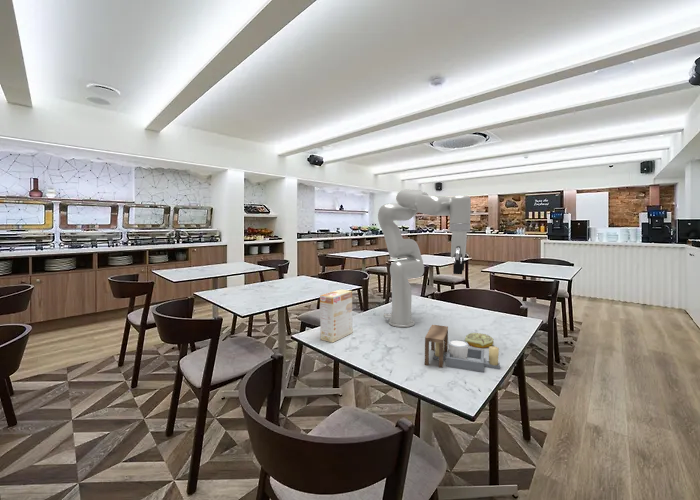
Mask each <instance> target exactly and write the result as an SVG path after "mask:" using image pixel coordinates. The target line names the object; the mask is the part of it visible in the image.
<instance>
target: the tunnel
mask: <svg viewBox="0 0 700 500" xmlns="http://www.w3.org/2000/svg"><path fill="white" fill-rule="evenodd" d="M448 336H449V326H447V325H439V324H438V325H436V324H431V326H430V328H429V329H428V331H427V333H426V335H425V337H424V366H429V365H430V351H434V352H435V342H437V343H439V360H438V368H443V367H444V360H443V342H444V353H448V350H449V345H448V342H449V341H448V340H449V337H448Z"/></svg>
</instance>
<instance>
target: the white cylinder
mask: <svg viewBox="0 0 700 500" xmlns="http://www.w3.org/2000/svg"><path fill="white" fill-rule="evenodd" d="M469 346H470V345H469V344H468V343H467V342H465V340H464V341H463V340H460V339H453V340H452V339H451V340H449V341H448V350H449V352H450V357H452V358H459V359H466V360H468V357H467V353H468V348H469Z"/></svg>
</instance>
